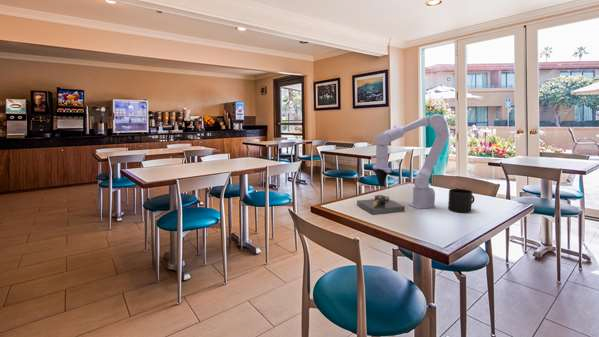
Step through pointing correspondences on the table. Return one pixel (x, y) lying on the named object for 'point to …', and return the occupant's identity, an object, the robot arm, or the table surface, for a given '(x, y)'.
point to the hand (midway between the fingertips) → (381, 184)
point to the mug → (460, 200)
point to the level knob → (379, 200)
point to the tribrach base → (380, 206)
